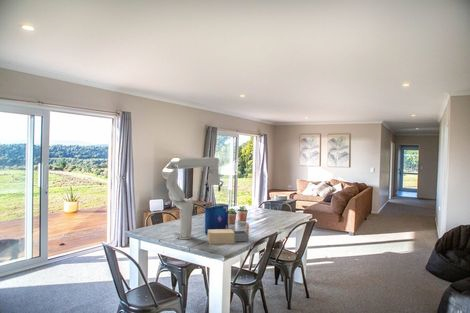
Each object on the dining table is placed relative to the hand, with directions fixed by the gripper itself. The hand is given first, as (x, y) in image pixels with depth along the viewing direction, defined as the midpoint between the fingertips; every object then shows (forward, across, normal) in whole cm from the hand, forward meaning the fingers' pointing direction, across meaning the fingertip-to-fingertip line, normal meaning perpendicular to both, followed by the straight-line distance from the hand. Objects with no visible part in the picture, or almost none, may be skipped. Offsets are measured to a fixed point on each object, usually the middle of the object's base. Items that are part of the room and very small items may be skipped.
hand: (213, 191), depth 275 cm
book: (+36, +3, -2) cm, 37 cm away
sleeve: (+36, +3, -26) cm, 45 cm away
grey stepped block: (+35, +15, -26) cm, 46 cm away
